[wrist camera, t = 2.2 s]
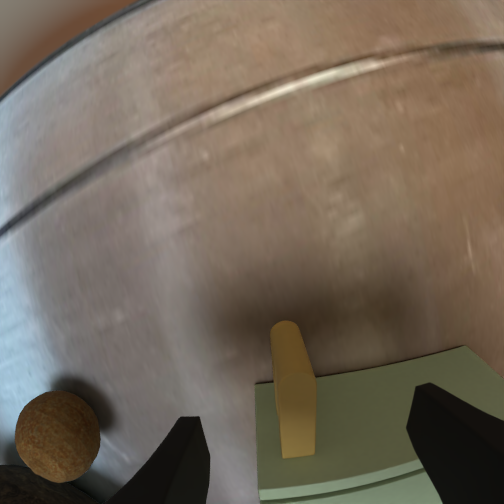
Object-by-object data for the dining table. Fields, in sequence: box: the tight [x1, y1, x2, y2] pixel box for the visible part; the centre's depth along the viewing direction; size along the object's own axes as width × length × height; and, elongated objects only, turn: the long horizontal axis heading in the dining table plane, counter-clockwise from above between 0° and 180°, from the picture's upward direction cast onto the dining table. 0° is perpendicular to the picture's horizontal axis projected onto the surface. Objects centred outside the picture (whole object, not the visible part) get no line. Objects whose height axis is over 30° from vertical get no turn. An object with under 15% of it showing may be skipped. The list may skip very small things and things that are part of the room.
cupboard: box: [260, 468, 443, 504], centre depth 17 cm, size 12×16×9 cm
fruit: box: [15, 390, 101, 483], centre depth 16 cm, size 6×6×8 cm
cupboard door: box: [255, 321, 504, 500], centre depth 15 cm, size 6×16×9 cm, turn 95°
